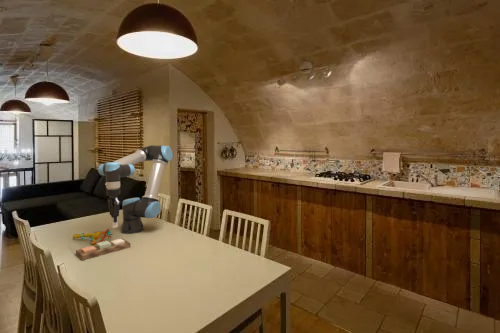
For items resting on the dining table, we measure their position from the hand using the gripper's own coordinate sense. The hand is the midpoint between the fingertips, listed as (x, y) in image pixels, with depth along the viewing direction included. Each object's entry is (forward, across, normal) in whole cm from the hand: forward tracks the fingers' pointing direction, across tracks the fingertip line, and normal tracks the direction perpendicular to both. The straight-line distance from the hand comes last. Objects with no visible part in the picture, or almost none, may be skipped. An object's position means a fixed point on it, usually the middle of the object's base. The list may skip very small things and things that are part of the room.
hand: (114, 227), depth 168 cm
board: (+13, 0, -6) cm, 14 cm away
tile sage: (+10, 0, -7) cm, 12 cm away
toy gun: (+12, -21, -9) cm, 26 cm away
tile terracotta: (+11, 0, -15) cm, 18 cm away
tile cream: (+11, 0, +1) cm, 11 cm away
